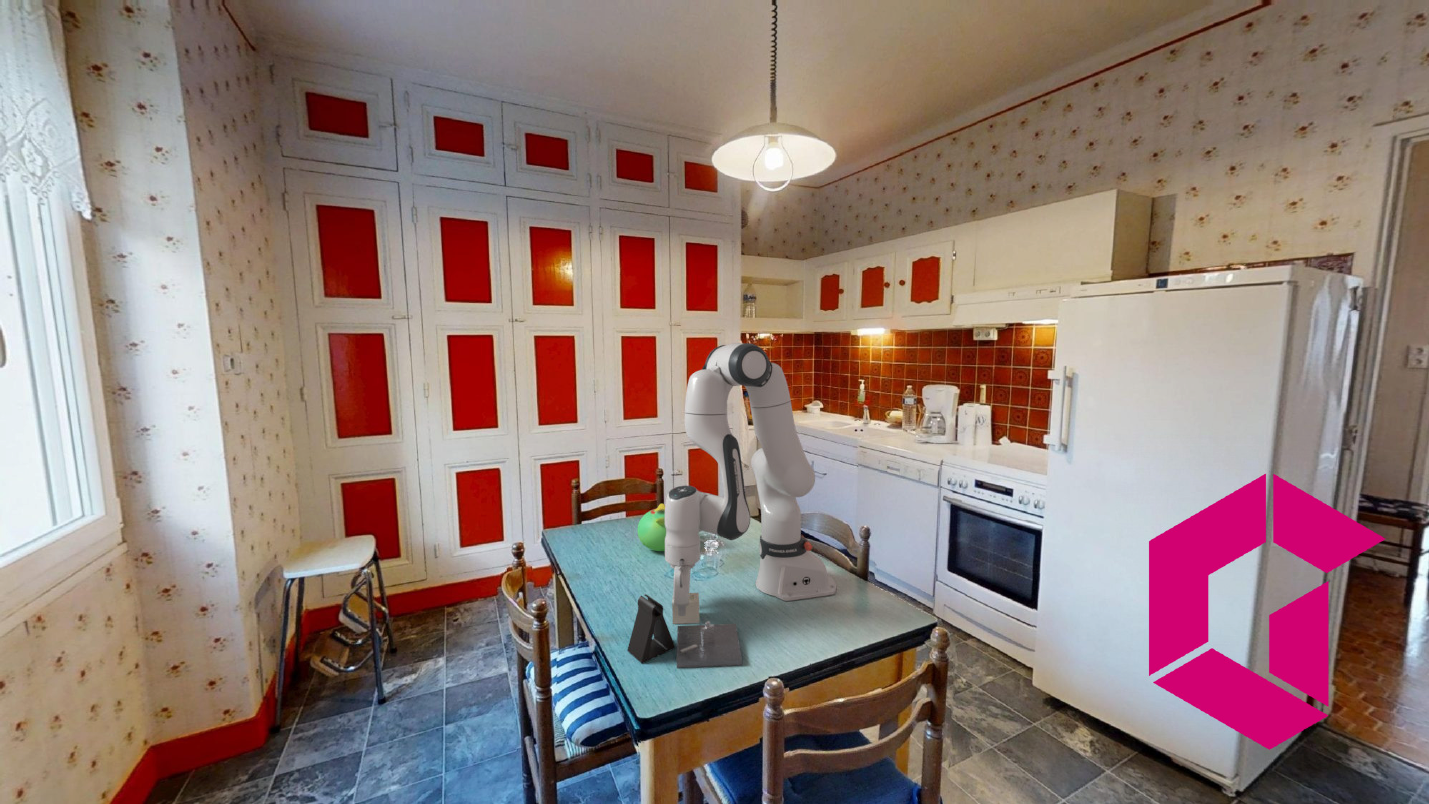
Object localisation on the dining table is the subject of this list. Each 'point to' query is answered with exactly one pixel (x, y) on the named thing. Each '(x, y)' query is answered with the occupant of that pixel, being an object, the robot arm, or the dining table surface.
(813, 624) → the dining table surface
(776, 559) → the robot arm
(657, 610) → the black a-frame stand
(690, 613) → the hollow rectangular block
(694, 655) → the grey square base
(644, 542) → the green bird toy
